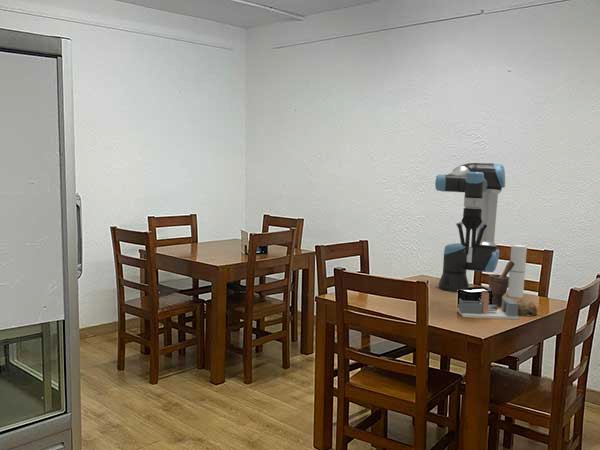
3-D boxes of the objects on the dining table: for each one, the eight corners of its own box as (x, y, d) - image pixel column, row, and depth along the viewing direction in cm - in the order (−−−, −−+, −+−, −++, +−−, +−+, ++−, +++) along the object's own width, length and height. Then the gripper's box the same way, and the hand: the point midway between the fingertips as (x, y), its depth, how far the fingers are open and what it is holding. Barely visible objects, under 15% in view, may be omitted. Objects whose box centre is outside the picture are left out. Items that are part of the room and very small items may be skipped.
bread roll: (517, 323, 265) (523, 309, 261) (505, 308, 274) (511, 294, 270) (537, 322, 268) (543, 308, 264) (525, 307, 276) (531, 293, 272)
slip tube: (461, 309, 267) (462, 290, 266) (494, 311, 267) (495, 291, 266) (463, 312, 263) (465, 292, 262) (497, 313, 262) (498, 293, 261)
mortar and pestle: (497, 299, 293) (500, 258, 291) (514, 303, 287) (517, 261, 284) (483, 302, 286) (486, 260, 284) (500, 306, 279) (503, 263, 277)
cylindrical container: (507, 296, 300) (511, 246, 298) (507, 293, 307) (511, 244, 304) (523, 298, 298) (527, 247, 295) (522, 295, 305) (526, 245, 302)
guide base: (456, 309, 271) (457, 295, 270) (509, 312, 270) (510, 297, 270) (463, 317, 259) (464, 302, 258) (518, 319, 258) (519, 304, 258)
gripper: (459, 207, 260) (455, 262, 263) (490, 209, 260) (486, 264, 262) (455, 206, 268) (452, 259, 270) (485, 207, 267) (481, 261, 270)
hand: (469, 261), depth 266 cm, fingers closed
